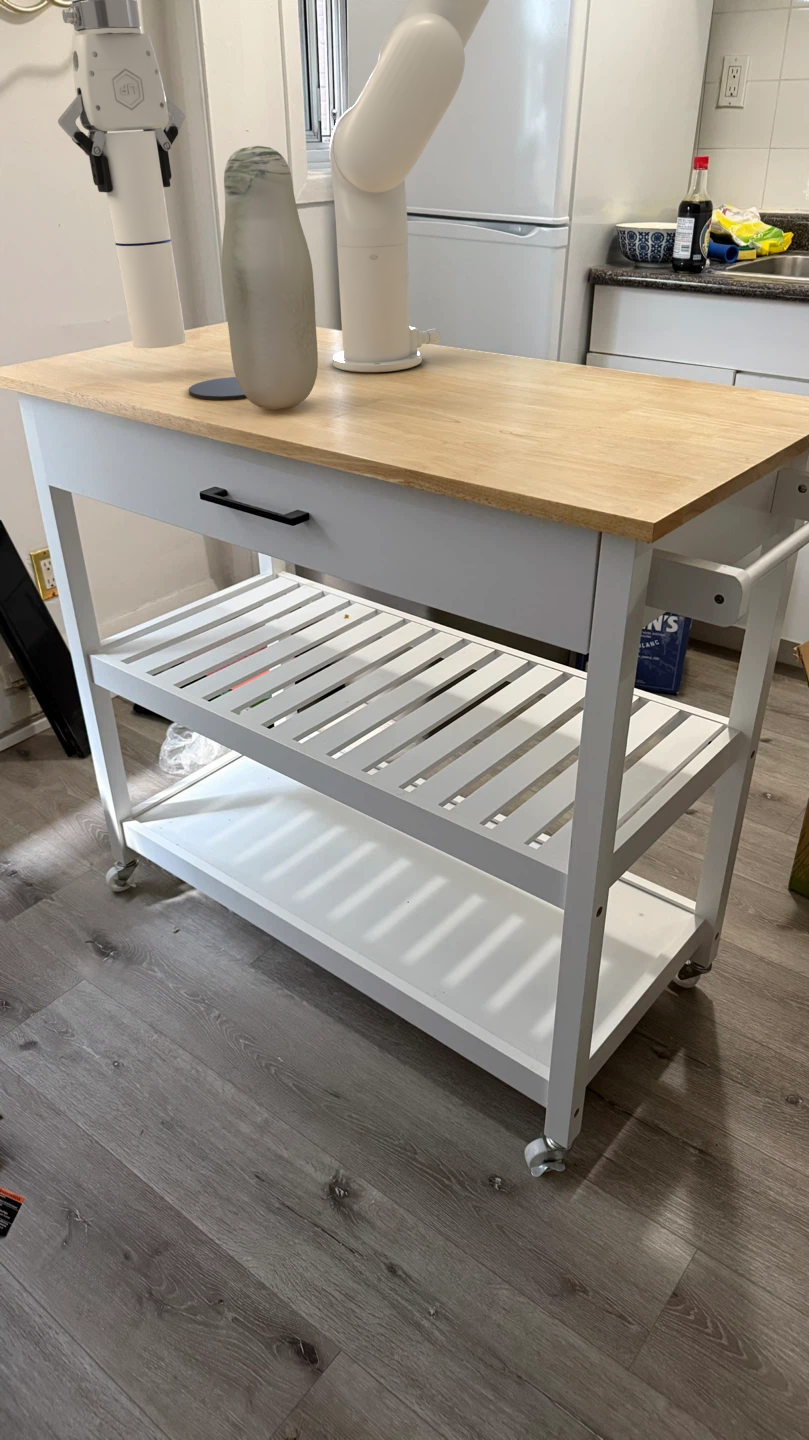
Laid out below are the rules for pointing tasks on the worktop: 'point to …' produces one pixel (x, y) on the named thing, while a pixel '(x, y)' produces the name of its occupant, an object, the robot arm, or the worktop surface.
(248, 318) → the standing stone ornament
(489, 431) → the worktop surface
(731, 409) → the worktop surface
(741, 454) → the worktop surface
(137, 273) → the cylindrical container
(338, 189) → the robot arm
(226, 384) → the coaster
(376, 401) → the worktop surface
